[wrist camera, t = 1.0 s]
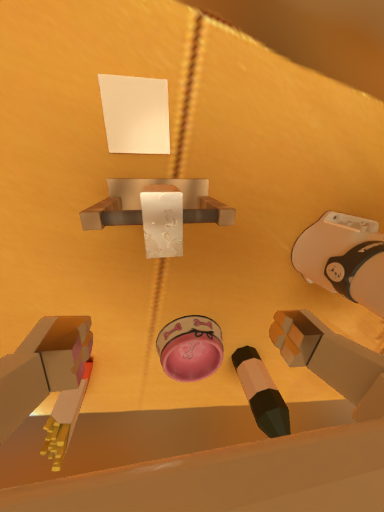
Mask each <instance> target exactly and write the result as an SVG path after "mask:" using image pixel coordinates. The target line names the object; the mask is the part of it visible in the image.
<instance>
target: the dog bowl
mask: <svg viewBox="0 0 384 512" xmlns="http://www.w3.org/2000/svg"><path fill="white" fill-rule="evenodd" d="M156 348H157V352H158V354H159V357H160V361H161V365H162V367H163V369H164V371H165V373H166V374H167V375H168V376H169V377H170V378H172V379H174V380H176V381H180V382H194V381H199V380H202V379H204V378H207V377H209V376H210V375H212V374H213V373H214V372H216V371H217V370H218V368H219V367H220V365H221V363H222V361H223V340H222V332H221V329H220V327H219V326H218V324H217V323H216V322H215V321H213V320H212V319H210V318H208V317H205V316H200V315H191V316H184V317H181V318H178V319H176V320H174V321H172V322H170V323H169V324H167V325H166V326H165V327H164V328H163V329H162V330H161V332H160V333H159V335H158V337H157V341H156Z"/></svg>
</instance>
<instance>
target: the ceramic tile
mask: <svg viewBox="0 0 384 512" xmlns="http://www.w3.org/2000/svg"><path fill="white" fill-rule="evenodd" d="M98 80H99V87H100V93H101V100H102V107H103V114H104V120H105V127H106V134H107V141H108V148H109V153H129V154H169V155H170V139H169V109H168V80H166V79H155V78H143V77H131V76H119V75H108V74H98Z"/></svg>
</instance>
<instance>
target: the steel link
mask: <svg viewBox="0 0 384 512" xmlns="http://www.w3.org/2000/svg"><path fill="white" fill-rule="evenodd" d="M140 197H141V207H142V217H143V228H144V238H145V249H146V258H160V257H178V256H183V194H182V191H181V190H179V189H178V188H177V187H176V186H175V185H146V186H145V187H144V188H143V190H142V191H141V192H140Z"/></svg>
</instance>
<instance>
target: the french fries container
mask: <svg viewBox="0 0 384 512" xmlns="http://www.w3.org/2000/svg"><path fill="white" fill-rule="evenodd" d="M92 365H93V362H85V363H84V367H85V371H84V374H83V377H82V380H81V383H80V385H79V388H78V389H72V390H64V391H61V392H60V394H59V397H58V399H57V401H56V404H55V406H54V408H53V411H52V413H51V416H50V418H49V419H48V421H47V423H46V424H45V426H44V428H43V429H45V430H48V431H47V432H48V434H47V436H46V438H45V440H46V442H45V444H44V445H43V447H42V449H41V451H40V456H45V455H46V453H47V451H48V450H50V449H51V450H50V454H49V457H48V459H52V458H53V455H54V454H56V455H55V461H54V464H53V466H52V471H60V468H61V465H62V461H63V458H64V455H65V454H66V451H67V447H68V445H69V442H70V439H71V436H72V433H73V429H74V426H75V423H76V420H77V417H78V414H79V411H80V408H81V405H82V402H83V399H84V396H85V393H86V389H87V386H88V382H89V379H90V375H91V370H92Z"/></svg>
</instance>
